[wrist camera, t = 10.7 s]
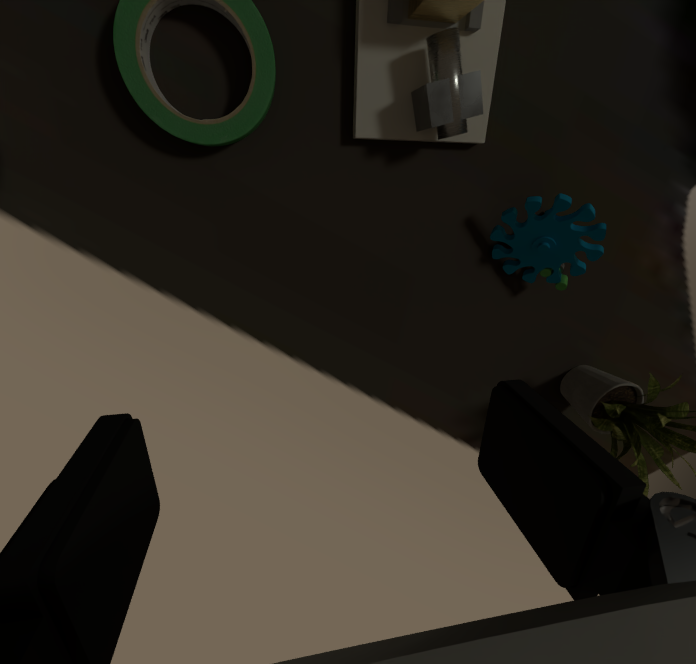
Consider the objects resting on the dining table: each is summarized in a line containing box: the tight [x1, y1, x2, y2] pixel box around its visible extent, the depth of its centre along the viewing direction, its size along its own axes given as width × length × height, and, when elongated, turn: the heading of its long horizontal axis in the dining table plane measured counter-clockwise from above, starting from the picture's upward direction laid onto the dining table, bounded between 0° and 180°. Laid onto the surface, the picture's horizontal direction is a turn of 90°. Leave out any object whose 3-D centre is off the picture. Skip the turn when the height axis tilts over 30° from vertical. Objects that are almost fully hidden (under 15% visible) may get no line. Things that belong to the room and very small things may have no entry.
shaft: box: [411, 27, 483, 140], centre depth 30 cm, size 7×4×4 cm, turn 14°
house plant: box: [560, 365, 696, 497], centre depth 42 cm, size 14×14×16 cm
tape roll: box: [113, 0, 275, 146], centre depth 28 cm, size 11×11×3 cm
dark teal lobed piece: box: [490, 193, 606, 290], centre depth 37 cm, size 11×6×10 cm
